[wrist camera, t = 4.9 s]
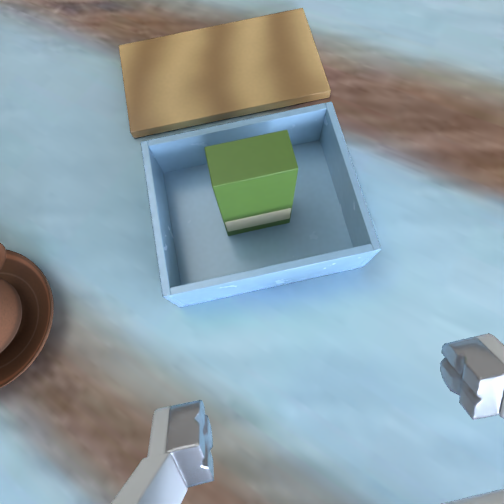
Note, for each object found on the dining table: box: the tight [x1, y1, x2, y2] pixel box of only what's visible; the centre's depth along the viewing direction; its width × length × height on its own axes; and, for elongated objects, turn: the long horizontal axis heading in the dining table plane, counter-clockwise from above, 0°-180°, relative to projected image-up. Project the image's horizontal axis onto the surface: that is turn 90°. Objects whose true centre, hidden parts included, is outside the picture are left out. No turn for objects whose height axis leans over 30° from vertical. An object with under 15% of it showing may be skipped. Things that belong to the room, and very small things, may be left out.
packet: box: [204, 130, 298, 236], centre depth 28 cm, size 6×3×10 cm, turn 102°
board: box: [119, 8, 331, 138], centre depth 37 cm, size 20×11×1 cm, turn 102°
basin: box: [141, 102, 381, 307], centre depth 31 cm, size 16×13×5 cm
